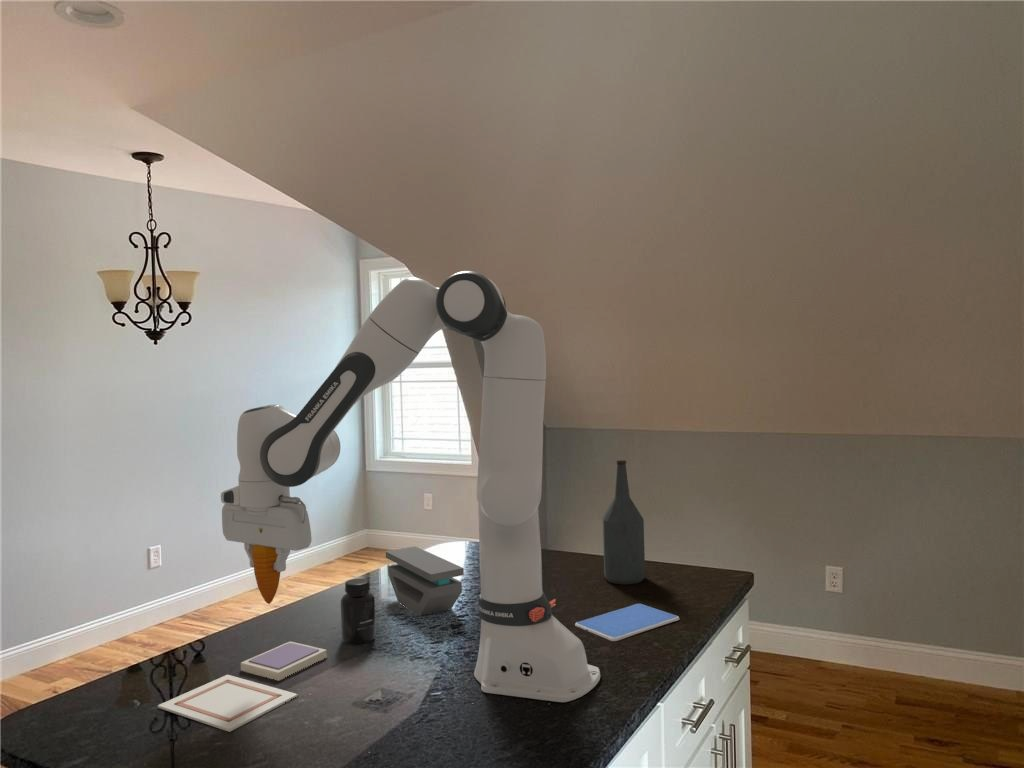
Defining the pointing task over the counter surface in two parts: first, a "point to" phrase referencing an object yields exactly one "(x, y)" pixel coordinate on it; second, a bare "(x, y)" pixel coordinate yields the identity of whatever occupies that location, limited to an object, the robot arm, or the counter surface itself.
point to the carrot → (265, 571)
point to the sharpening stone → (424, 580)
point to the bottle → (623, 535)
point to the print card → (227, 702)
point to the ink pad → (283, 660)
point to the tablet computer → (626, 622)
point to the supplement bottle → (357, 613)
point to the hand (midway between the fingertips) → (267, 568)
